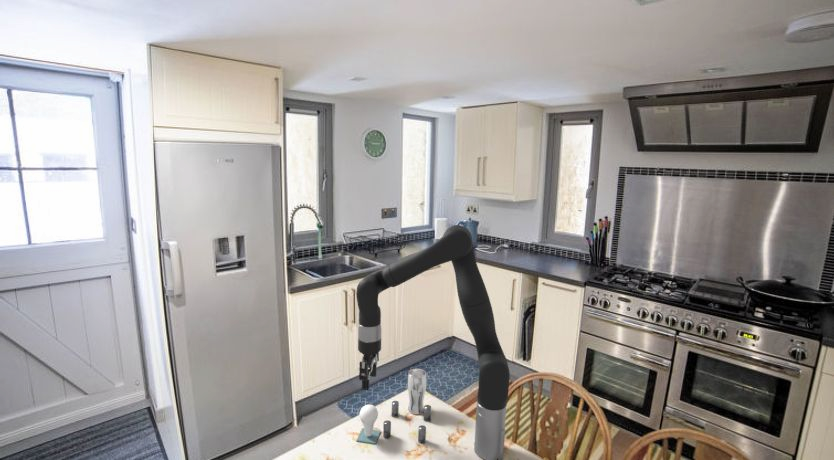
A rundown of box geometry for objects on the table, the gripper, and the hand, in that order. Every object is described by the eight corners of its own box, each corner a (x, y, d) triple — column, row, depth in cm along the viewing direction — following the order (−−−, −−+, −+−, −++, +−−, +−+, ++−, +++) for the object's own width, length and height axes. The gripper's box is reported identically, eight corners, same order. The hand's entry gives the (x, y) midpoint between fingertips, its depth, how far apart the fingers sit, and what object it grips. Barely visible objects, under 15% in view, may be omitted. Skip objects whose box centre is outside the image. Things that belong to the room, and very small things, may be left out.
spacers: (431, 418, 148) (431, 405, 147) (424, 444, 134) (425, 430, 133) (392, 412, 151) (392, 400, 150) (382, 438, 137) (382, 424, 136)
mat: (380, 431, 140) (380, 430, 140) (375, 444, 133) (375, 443, 133) (362, 429, 141) (362, 428, 141) (356, 441, 134) (356, 440, 134)
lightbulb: (371, 444, 133) (371, 413, 131) (355, 438, 136) (355, 408, 134) (381, 433, 138) (381, 404, 136) (366, 428, 141) (366, 398, 139)
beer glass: (404, 406, 155) (405, 370, 152) (420, 402, 158) (421, 366, 155) (411, 417, 148) (412, 379, 146) (428, 412, 151) (429, 375, 149)
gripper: (365, 326, 139) (364, 370, 142) (351, 344, 125) (351, 392, 128) (386, 328, 138) (385, 373, 140) (374, 346, 124) (374, 395, 126)
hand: (369, 382), depth 134 cm, fingers open, 8 cm apart
